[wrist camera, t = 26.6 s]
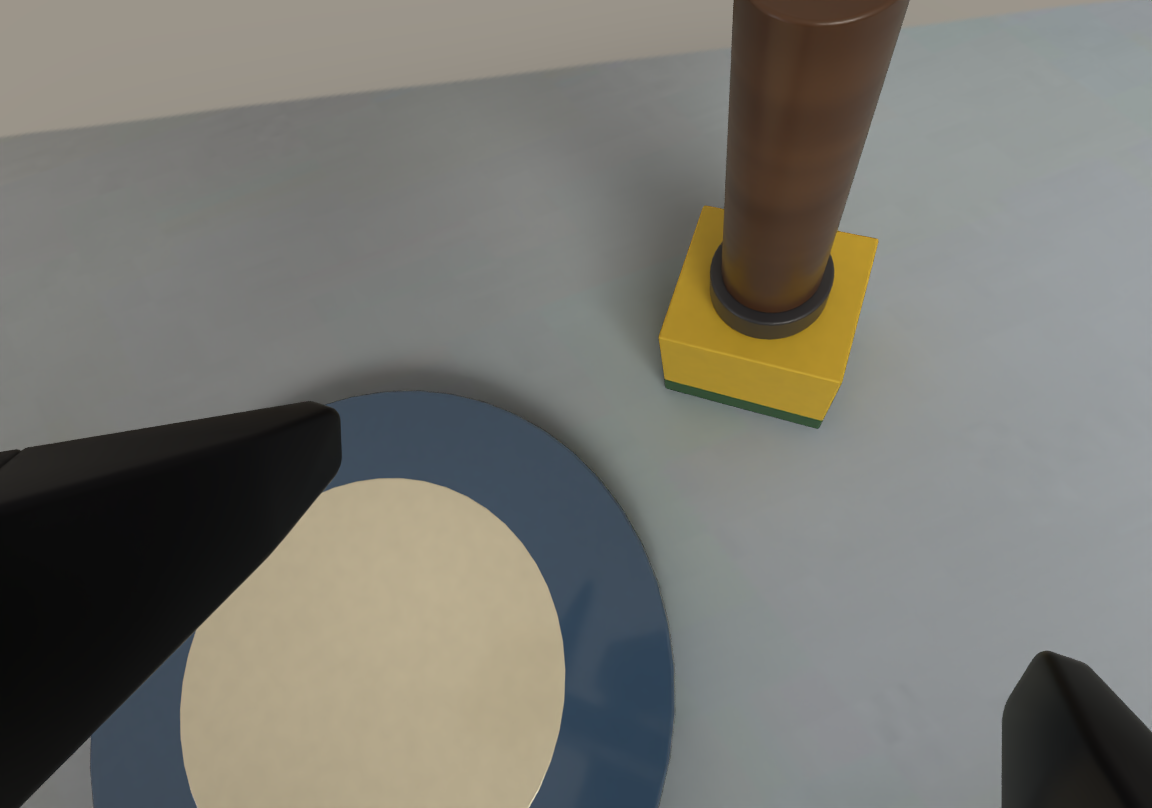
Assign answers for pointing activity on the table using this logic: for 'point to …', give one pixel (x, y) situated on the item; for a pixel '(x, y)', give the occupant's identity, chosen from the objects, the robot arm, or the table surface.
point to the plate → (419, 640)
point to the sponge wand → (784, 212)
